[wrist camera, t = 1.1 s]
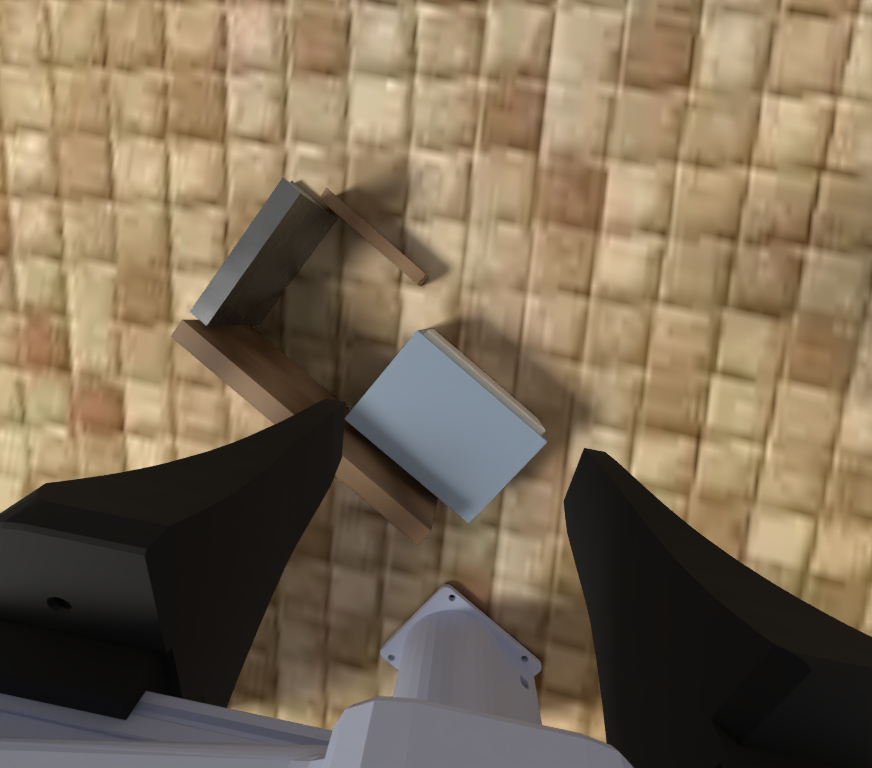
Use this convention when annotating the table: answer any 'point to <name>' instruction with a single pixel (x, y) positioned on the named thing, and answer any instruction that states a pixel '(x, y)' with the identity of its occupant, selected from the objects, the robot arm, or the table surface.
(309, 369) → the table surface
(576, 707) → the table surface
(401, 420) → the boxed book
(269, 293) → the bookend
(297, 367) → the shelf
